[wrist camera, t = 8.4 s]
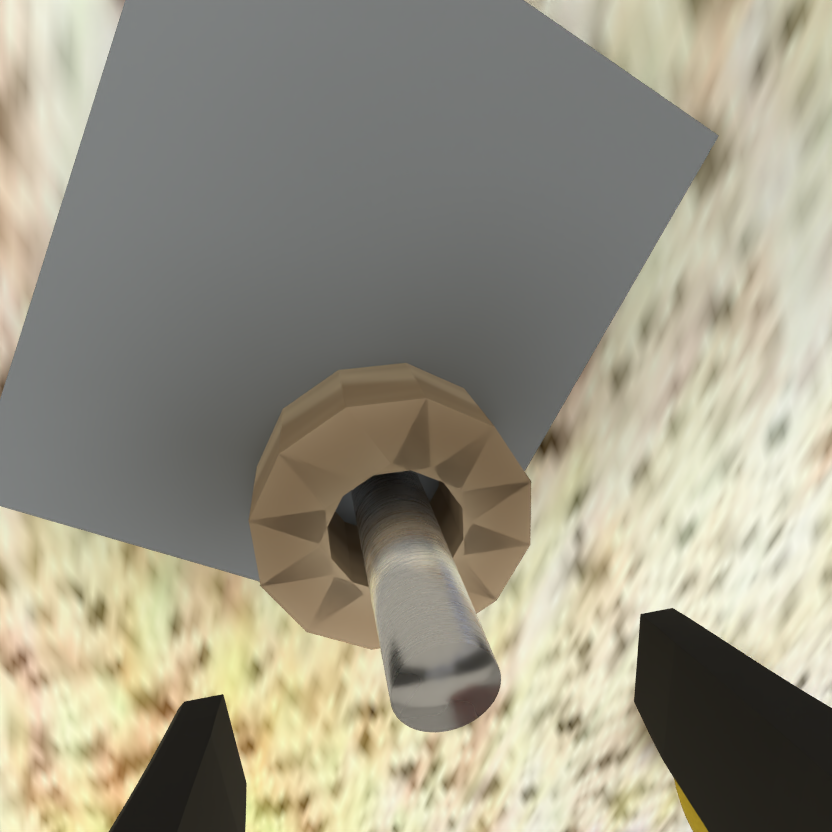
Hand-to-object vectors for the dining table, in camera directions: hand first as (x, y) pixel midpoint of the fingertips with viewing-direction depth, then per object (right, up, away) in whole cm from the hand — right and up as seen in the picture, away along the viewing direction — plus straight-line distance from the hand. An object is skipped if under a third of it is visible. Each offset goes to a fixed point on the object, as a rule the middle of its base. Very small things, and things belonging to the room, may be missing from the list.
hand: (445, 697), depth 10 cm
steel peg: (-2, +3, +8) cm, 8 cm away
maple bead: (-2, +3, +8) cm, 8 cm away
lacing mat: (-2, +8, +6) cm, 10 cm away
